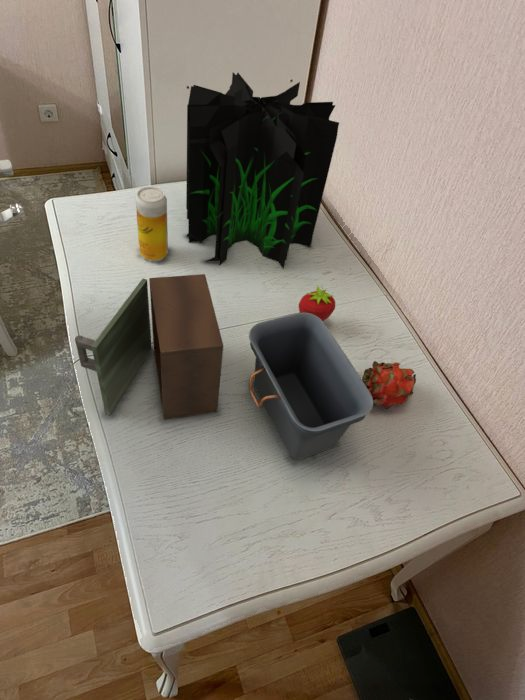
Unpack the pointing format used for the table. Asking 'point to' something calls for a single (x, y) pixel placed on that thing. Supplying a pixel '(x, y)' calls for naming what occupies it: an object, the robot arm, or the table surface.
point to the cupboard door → (120, 347)
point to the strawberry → (317, 304)
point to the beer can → (152, 223)
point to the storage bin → (306, 383)
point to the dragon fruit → (389, 383)
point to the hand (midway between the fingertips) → (18, 189)
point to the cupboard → (185, 345)
